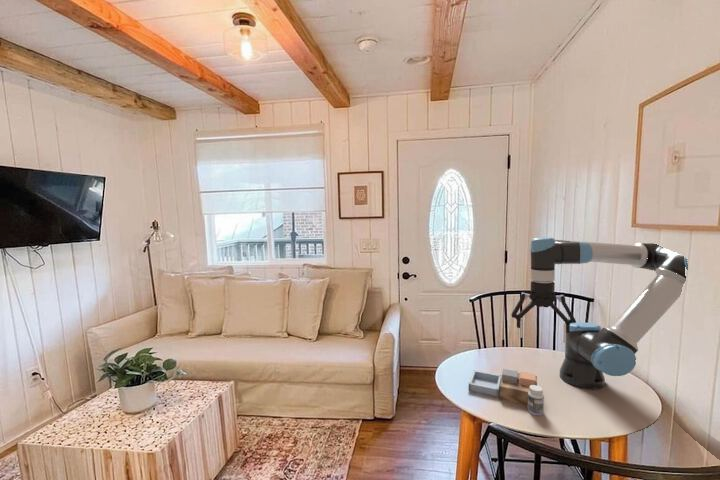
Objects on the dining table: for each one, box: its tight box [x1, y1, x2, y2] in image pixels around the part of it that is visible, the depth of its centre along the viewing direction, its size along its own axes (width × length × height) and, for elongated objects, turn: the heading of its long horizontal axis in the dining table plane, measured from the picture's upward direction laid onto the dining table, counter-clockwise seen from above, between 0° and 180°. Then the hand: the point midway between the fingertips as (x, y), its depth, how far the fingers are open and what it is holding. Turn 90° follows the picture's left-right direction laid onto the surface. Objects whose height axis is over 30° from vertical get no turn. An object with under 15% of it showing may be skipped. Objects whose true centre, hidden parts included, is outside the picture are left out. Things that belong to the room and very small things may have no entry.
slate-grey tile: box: [501, 368, 519, 384], centre depth 126 cm, size 5×5×2 cm
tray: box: [468, 370, 502, 398], centre depth 130 cm, size 11×12×3 cm
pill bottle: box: [527, 385, 545, 416], centre depth 113 cm, size 5×5×8 cm
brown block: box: [499, 371, 538, 406], centre depth 124 cm, size 12×14×5 cm
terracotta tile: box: [519, 371, 537, 386], centre depth 123 cm, size 5×5×2 cm
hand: (542, 338), depth 120 cm, fingers open, 13 cm apart
